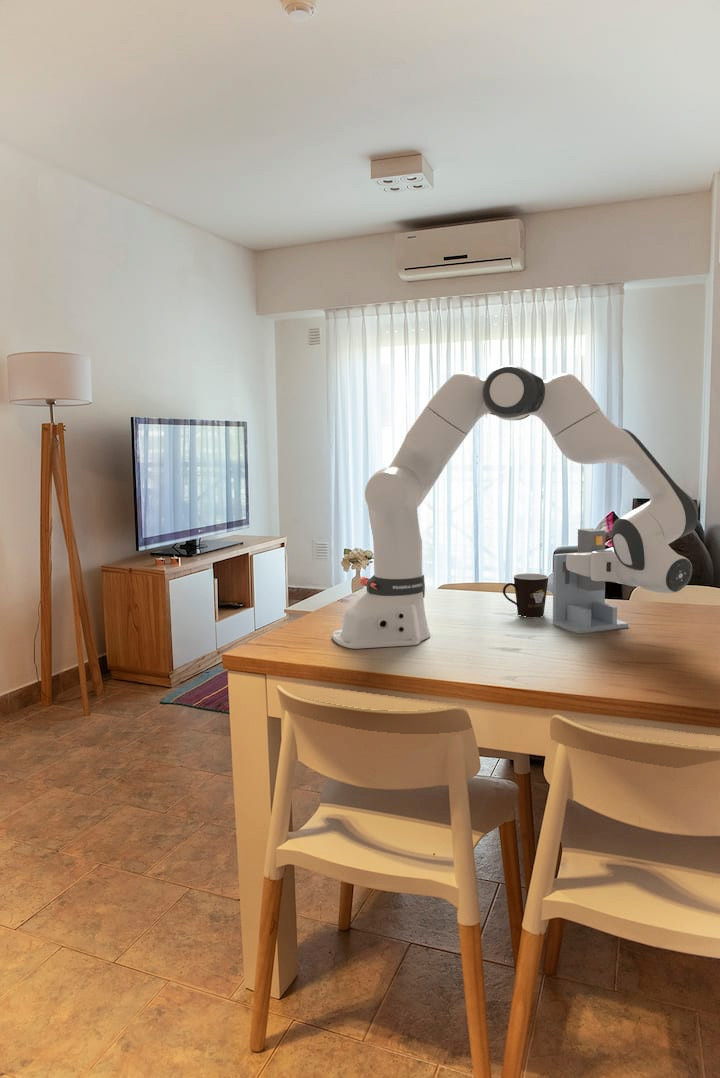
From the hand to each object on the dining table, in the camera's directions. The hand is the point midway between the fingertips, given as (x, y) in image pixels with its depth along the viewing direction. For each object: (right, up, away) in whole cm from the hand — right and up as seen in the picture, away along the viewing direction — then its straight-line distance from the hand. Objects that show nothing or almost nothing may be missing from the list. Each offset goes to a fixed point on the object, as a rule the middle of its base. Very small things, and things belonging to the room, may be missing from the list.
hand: (588, 555), depth 176 cm
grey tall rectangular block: (0, -8, 0) cm, 8 cm away
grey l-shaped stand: (+1, -17, +1) cm, 17 cm away
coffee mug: (-12, -16, +14) cm, 24 cm away
